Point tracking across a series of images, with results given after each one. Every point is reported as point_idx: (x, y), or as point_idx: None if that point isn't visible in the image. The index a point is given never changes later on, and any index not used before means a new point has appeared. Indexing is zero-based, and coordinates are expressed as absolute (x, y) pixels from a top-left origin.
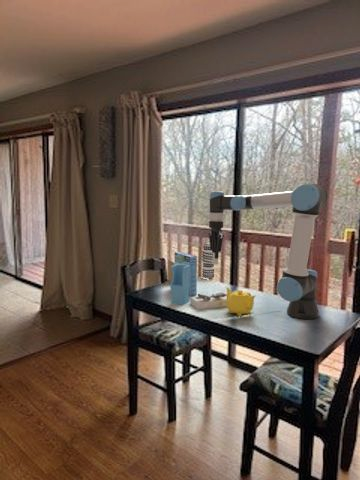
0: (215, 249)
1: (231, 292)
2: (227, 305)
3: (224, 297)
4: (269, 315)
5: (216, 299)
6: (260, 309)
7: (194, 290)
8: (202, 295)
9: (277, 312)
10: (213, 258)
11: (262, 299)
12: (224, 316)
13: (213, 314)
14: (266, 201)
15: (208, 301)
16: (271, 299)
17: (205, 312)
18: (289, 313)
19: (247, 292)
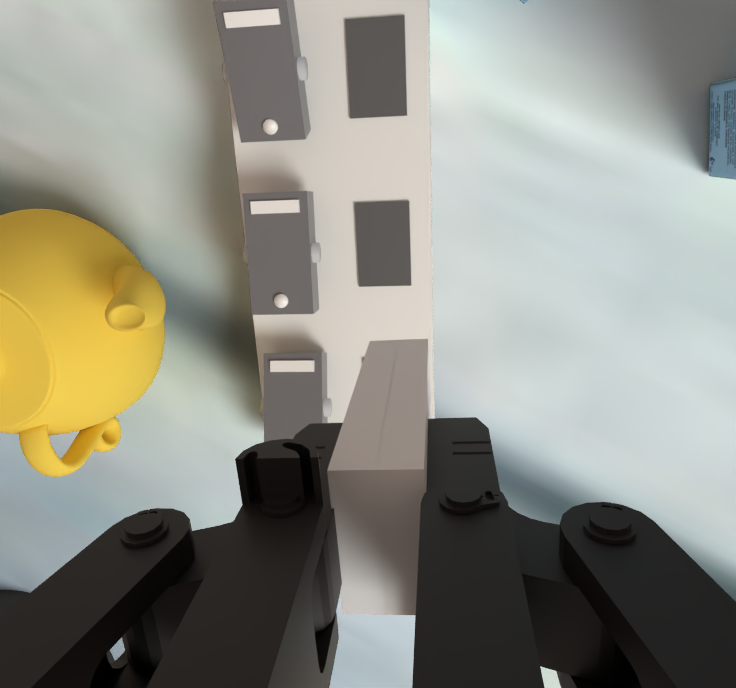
0: (218, 560)
1: (310, 407)
2: (35, 212)
3: (326, 325)
4: (10, 472)
5: None
6: (140, 490)
7: (731, 147)
8: (218, 24)
9: (62, 551)
10: (372, 388)
11: (362, 633)
12: (20, 151)
13: (78, 79)
14: None
15: (233, 106)
16: (344, 683)
17: (140, 28)
18: (13, 595)
19: (37, 455)
